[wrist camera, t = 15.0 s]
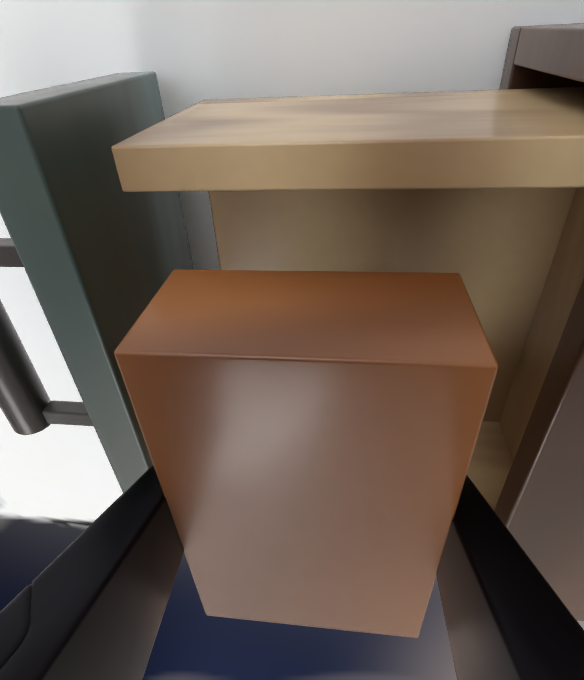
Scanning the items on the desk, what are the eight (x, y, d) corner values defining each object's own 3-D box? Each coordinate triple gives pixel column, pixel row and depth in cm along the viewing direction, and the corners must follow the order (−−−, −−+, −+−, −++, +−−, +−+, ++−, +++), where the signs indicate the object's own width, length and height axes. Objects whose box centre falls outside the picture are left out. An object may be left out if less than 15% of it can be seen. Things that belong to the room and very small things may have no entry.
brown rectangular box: (460, 271, 7) (500, 365, 5) (407, 535, 12) (418, 639, 10) (172, 268, 8) (111, 351, 6) (229, 521, 13) (205, 615, 11)
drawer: (96, 406, 21) (13, 530, 16) (-41, 79, 13) (-293, 115, 8) (503, 427, 19) (559, 579, 14) (632, 51, 11) (878, 74, 6)
